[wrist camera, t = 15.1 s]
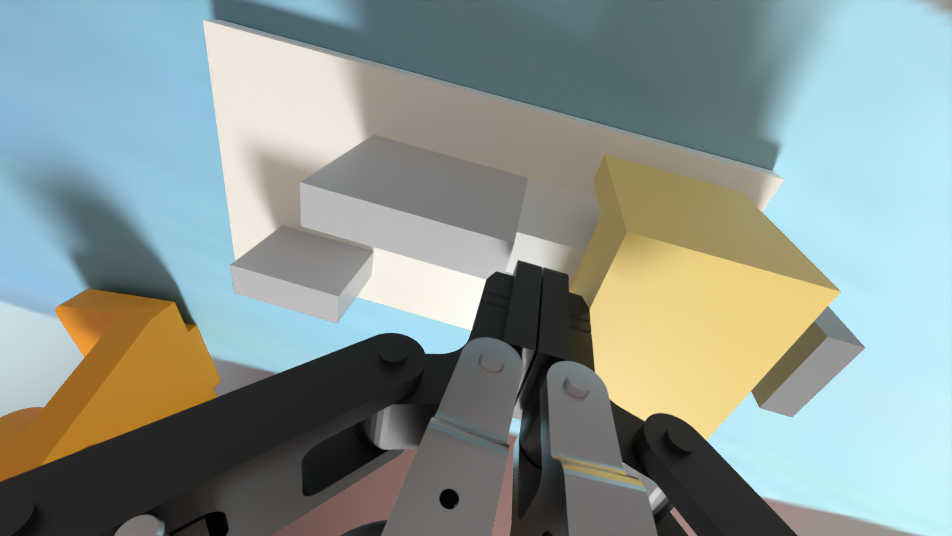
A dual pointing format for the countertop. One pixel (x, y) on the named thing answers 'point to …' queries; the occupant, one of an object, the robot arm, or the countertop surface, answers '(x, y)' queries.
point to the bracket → (112, 379)
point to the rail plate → (430, 190)
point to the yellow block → (689, 293)
